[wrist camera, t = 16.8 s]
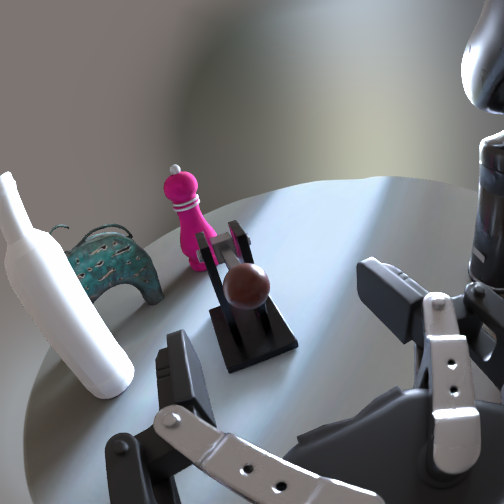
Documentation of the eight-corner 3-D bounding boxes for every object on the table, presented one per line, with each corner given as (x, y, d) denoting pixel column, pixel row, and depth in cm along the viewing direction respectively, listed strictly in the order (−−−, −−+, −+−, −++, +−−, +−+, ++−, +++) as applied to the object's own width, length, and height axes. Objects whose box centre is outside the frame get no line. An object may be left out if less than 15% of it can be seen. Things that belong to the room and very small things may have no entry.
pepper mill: (204, 277, 54) (167, 172, 44) (182, 268, 58) (146, 173, 49) (231, 256, 58) (201, 156, 48) (208, 249, 63) (178, 159, 53)
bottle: (132, 351, 40) (34, 158, 26) (138, 389, 33) (11, 165, 19) (89, 368, 38) (-15, 188, 24) (90, 406, 31) (-44, 204, 17)
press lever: (281, 308, 22) (269, 265, 21) (235, 325, 22) (220, 283, 20) (240, 253, 35) (231, 224, 34) (211, 263, 35) (201, 235, 33)
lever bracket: (298, 346, 35) (277, 241, 28) (229, 373, 34) (184, 274, 26) (266, 294, 45) (243, 205, 38) (211, 315, 44) (176, 228, 37)
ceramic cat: (78, 359, 40) (11, 256, 30) (72, 340, 45) (14, 245, 35) (172, 299, 50) (126, 191, 40) (157, 286, 54) (116, 188, 45)
